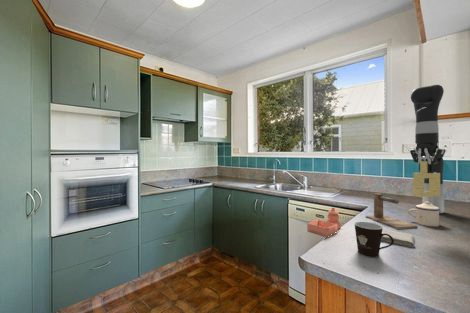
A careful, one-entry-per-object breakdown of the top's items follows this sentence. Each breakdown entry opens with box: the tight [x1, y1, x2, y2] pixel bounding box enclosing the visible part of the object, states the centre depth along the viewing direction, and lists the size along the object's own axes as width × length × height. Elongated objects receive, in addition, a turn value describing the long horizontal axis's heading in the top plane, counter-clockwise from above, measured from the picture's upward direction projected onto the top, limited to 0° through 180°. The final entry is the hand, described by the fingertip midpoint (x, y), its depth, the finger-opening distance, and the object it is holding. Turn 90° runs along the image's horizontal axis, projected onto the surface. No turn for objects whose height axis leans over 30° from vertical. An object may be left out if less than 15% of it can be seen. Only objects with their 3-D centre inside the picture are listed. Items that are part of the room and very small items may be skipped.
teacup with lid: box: [408, 202, 440, 227], centre depth 111 cm, size 12×9×12 cm
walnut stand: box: [365, 192, 418, 230], centre depth 113 cm, size 20×11×14 cm, turn 9°
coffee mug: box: [354, 221, 395, 258], centre depth 77 cm, size 12×9×10 cm
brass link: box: [412, 161, 440, 198], centre depth 94 cm, size 10×3×15 cm, turn 99°
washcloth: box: [381, 228, 415, 248], centre depth 93 cm, size 12×18×3 cm, turn 51°
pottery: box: [306, 207, 342, 239], centre depth 102 cm, size 18×10×10 cm, turn 128°
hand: (426, 172), depth 94 cm, fingers closed on brass link, 3 cm apart
